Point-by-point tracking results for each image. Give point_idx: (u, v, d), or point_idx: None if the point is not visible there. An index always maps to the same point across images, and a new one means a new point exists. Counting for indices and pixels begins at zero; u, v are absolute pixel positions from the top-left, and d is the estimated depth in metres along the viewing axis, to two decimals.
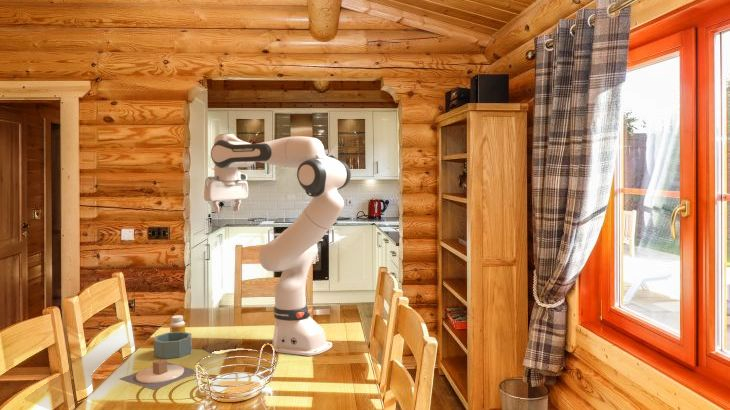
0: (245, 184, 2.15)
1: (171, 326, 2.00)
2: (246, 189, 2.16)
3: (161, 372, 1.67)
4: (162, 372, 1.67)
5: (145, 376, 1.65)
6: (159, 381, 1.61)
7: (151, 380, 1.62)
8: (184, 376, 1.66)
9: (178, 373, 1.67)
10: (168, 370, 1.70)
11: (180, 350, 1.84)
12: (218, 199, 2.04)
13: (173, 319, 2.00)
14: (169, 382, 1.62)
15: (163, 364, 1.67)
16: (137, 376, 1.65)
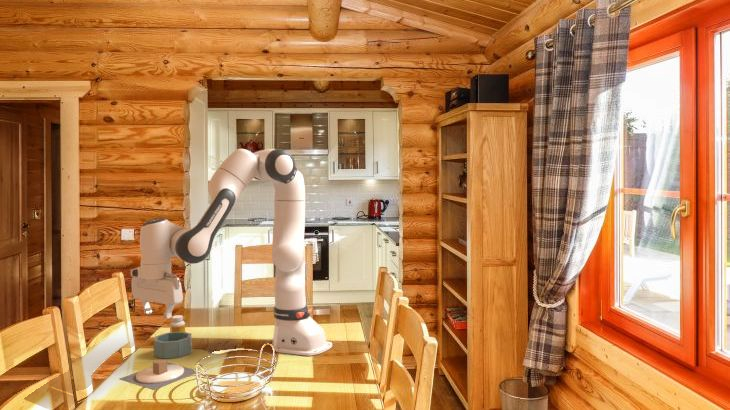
0: None
1: (171, 326, 2.00)
2: None
3: (161, 372, 1.67)
4: (162, 372, 1.67)
5: (145, 376, 1.65)
6: (159, 381, 1.61)
7: (151, 380, 1.62)
8: (184, 376, 1.66)
9: (178, 373, 1.67)
10: (168, 370, 1.70)
11: (180, 350, 1.84)
12: None
13: (173, 319, 2.00)
14: (169, 382, 1.62)
15: (163, 364, 1.67)
16: (137, 376, 1.65)
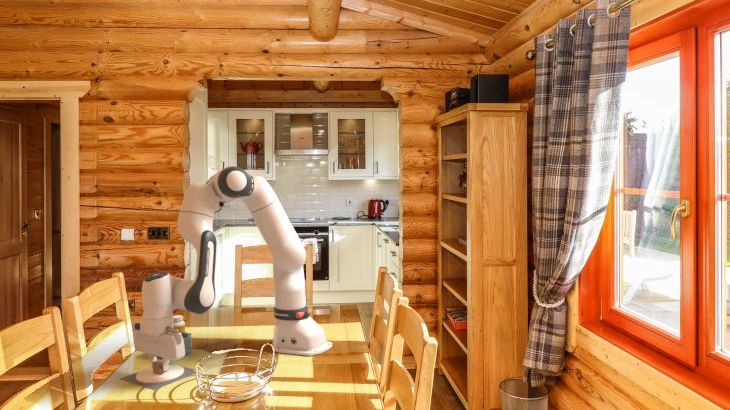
0: None
1: None
2: None
3: (161, 372, 1.67)
4: (162, 372, 1.67)
5: (145, 376, 1.65)
6: (159, 381, 1.61)
7: (151, 380, 1.62)
8: (184, 376, 1.66)
9: (178, 373, 1.67)
10: (168, 370, 1.70)
11: None
12: None
13: (173, 319, 2.00)
14: (169, 382, 1.62)
15: None
16: (137, 376, 1.65)
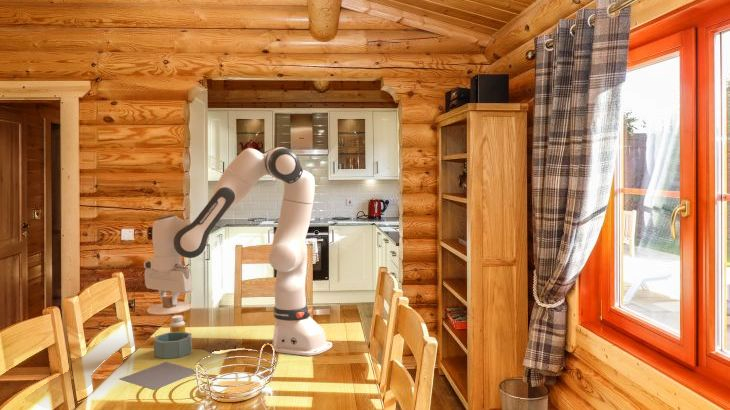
0: None
1: (171, 326, 2.00)
2: None
3: (170, 306, 1.82)
4: (171, 306, 1.82)
5: (155, 309, 1.80)
6: (169, 312, 1.77)
7: (161, 311, 1.77)
8: (184, 376, 1.66)
9: (186, 307, 1.82)
10: (176, 305, 1.85)
11: (180, 350, 1.84)
12: None
13: (173, 319, 2.00)
14: (169, 382, 1.62)
15: None
16: (148, 309, 1.80)
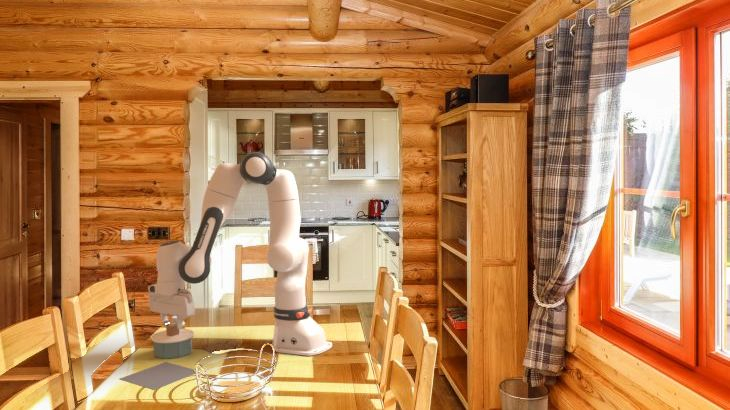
0: None
1: None
2: None
3: (174, 334, 1.87)
4: (174, 334, 1.87)
5: (159, 337, 1.86)
6: (172, 341, 1.82)
7: (165, 340, 1.82)
8: (184, 376, 1.66)
9: (189, 335, 1.87)
10: (180, 333, 1.90)
11: (180, 350, 1.84)
12: None
13: (173, 319, 2.00)
14: (169, 382, 1.62)
15: None
16: (152, 337, 1.86)
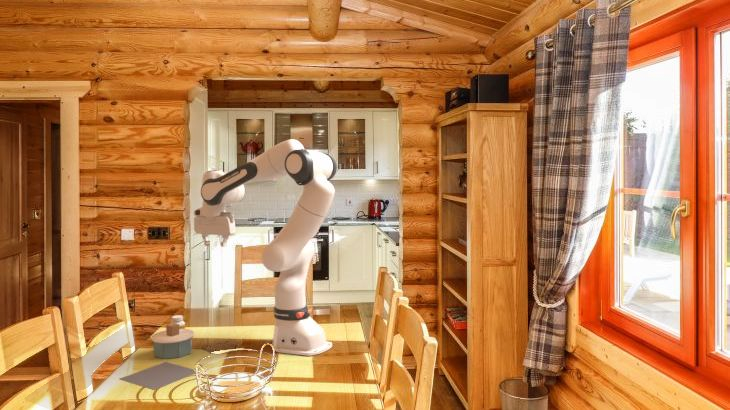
0: None
1: None
2: None
3: (174, 334, 1.87)
4: (174, 334, 1.87)
5: (159, 337, 1.86)
6: (172, 341, 1.82)
7: (165, 340, 1.82)
8: (184, 376, 1.66)
9: (189, 335, 1.87)
10: (180, 333, 1.90)
11: (180, 350, 1.84)
12: None
13: (173, 319, 2.00)
14: (169, 382, 1.62)
15: (176, 327, 1.88)
16: (152, 337, 1.86)
